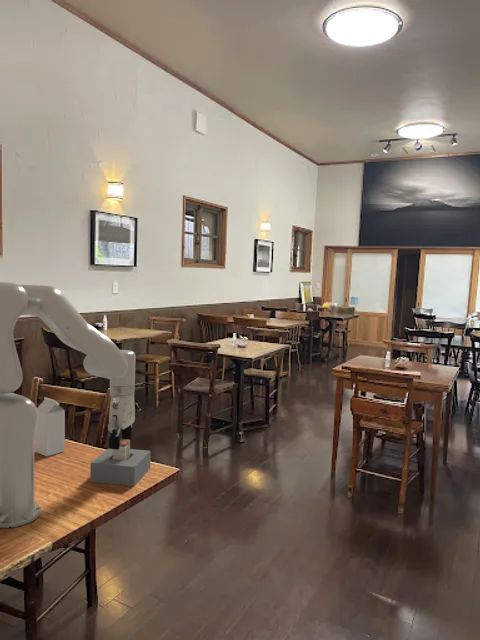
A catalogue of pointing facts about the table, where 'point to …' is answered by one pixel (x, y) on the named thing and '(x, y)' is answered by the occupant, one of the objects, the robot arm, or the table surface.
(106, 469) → the socket block
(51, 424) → the milk carton
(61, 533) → the table surface
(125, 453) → the peg
